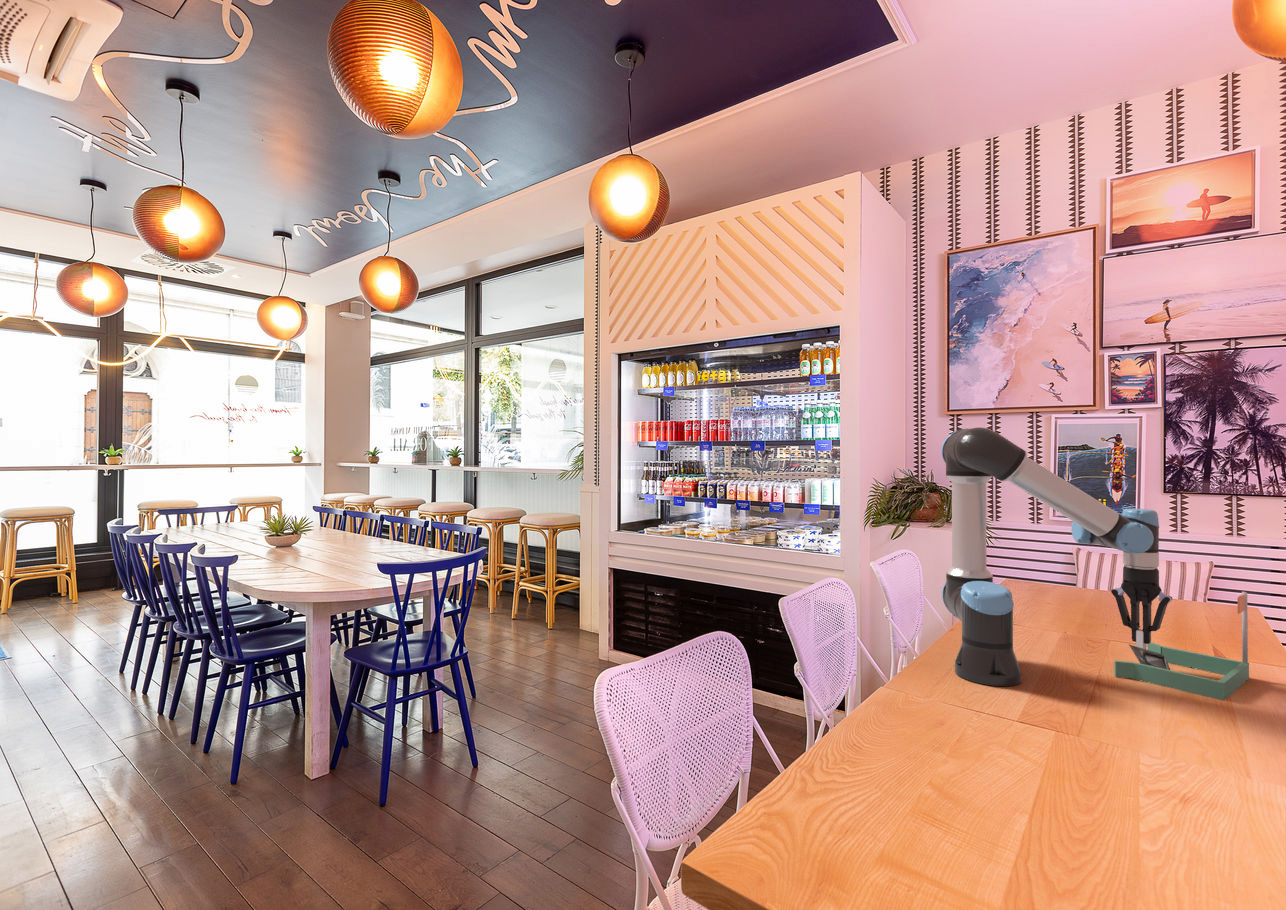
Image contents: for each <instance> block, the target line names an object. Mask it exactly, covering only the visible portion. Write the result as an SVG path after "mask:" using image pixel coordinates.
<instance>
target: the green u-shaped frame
mask: <svg viewBox="0 0 1286 910" xmlns="http://www.w3.org/2000/svg"><path fill="white" fill-rule="evenodd" d="M1237 614H1238V615H1239V614H1241V637H1242V638H1241V646H1242V647H1241V648H1242V649H1241V650H1242V651H1241V654H1242V655H1241V658H1242V660H1241V661H1239V660H1235V659H1229V658H1226V657H1225V658H1224V657H1221V656H1220V657H1219V656H1216V655H1215V656H1213V655H1209V654H1204V653H1199V652H1193V651H1189V650H1185V649H1179V648H1173V647H1168V646H1164V645H1161V644H1159V643H1154V642H1152V641H1151V642H1150V643H1149V644H1147V650H1149V651H1153V652H1156V653H1159V654H1163V655H1165V656H1166V659H1167V662H1168V664H1171V663H1173V664H1172V665H1175V664H1177V666H1180V665H1182V666H1181V667H1185V666H1187V667H1186V668H1190V667H1192V668H1191V669H1194V668H1197V669H1196V670H1199V669H1202V670H1201V671H1204V670H1206V671H1205V672H1208V671H1210V672H1209V673H1213V672H1215V674H1218V673H1220V674H1219V675H1223V674H1224V675H1223V677H1221V678H1220V679H1219V680H1218V679H1212V678H1208V677H1203V676H1198V675H1194V674H1189V673H1185V672H1180V671H1176V670H1171V669H1170V670H1167V669H1163V668H1158V667H1154V666H1149V665H1144V664H1140V662H1133V661H1125V660H1115V659H1114V660H1113V664H1114V665H1113V671H1114V672H1113V675H1114V677H1115V678H1119V677H1124V678H1123V679H1128V678H1132V679H1131V680H1135V679H1137V680H1136V681H1139V680H1142V681H1141V682H1144V681H1145V683H1148V682H1150V683H1149V684H1152V683H1154V684H1153V685H1156V684H1158V685H1157V686H1161V685H1162V686H1161V687H1165V686H1166V688H1169V687H1170V689H1173V688H1174V690H1177V689H1178V690H1179V691H1181V692H1186V691H1187V692H1186V693H1191V694H1194V693H1195V695H1199V696H1202V697H1207V698H1211V699H1216V700H1220V701H1226V699H1228V698H1229V697H1230V696H1231V695H1232V694H1234V692H1236V691H1237V690H1238V689H1239V688H1241V687H1242V686H1243V685H1244V684H1245V683H1246V682H1247V681H1248V680H1250V663H1249V655H1248V654H1249V652H1248V651H1249V648H1248V647H1249V646H1248V645H1249V643H1248V642H1249V641H1248V639H1249V638H1248V635H1249V633H1248V632H1249V631H1248V627H1249V626H1248V623H1249V622H1248V619H1249V618H1248V616H1249V615H1248V592H1247V591H1241V595H1239V596H1238V597H1237ZM1246 680H1247V681H1246ZM1245 681H1246V682H1245ZM1244 682H1245V683H1244ZM1243 683H1244V684H1243ZM1242 684H1243V685H1242ZM1235 690H1236V691H1235Z"/></svg>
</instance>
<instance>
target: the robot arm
mask: <svg viewBox="0 0 1286 910" xmlns="http://www.w3.org/2000/svg"><path fill="white" fill-rule="evenodd" d="M941 445H942V446H941V450H940V451H941V452H940V453H941V457H942V460H943V462H944V463H945V477H946V478H947V479H948V480H949V481H950V483H951V552H952V553H951V566H950V567H949V568H948V569H947V570H946V572H945V574H946V575H945V577H946V578H945V580H946V581H945V583H944V584H943V586H942V589H941V599H942V602H943V604H944V606H945V608H946V609H947V611H948V612H949V613H950V614H952V616H954V617H955V618H957V619H959V620H960V621H961V645H960V648H959V650H958V652H957V655H956V658H955V662H954V673H955V675H957V676H958V677H960V678H962V679H964V680H967V681H970V682H974V683H977V684H981V685H986V686H994V687H995V686H996V687H1011V686H1016V685H1019V684H1020V683H1022V670H1021V668H1020V664H1019V663H1018V659H1017V656H1016V654H1015V651H1014V606H1015V605H1014V600H1013V594H1012V592H1011V590H1010V589H1009V588H1007V586H1004V585H1002V584H998V583H995V582H994V577H993V574H992V572H991V571H989V570H988V569H987V483H988V481H990V480H991V479H992V478H995V479H996V480H999V482H1006V481H1007V482H1009V483H1010V484H1012V485H1014V486H1016V487H1017V488H1019V489H1021V490H1022V491H1024V492H1025V493H1027V494H1028V495H1030V496H1032V497H1033V498H1035V499H1036V500H1038V501H1040V502H1042V503H1043V504H1044V505H1047V507H1049V508H1051V509H1052V510H1055V512H1058V513H1059V514H1061V515H1062V516H1064V517H1066V518H1067V519H1069V520H1070V521H1072V523H1071V531H1070V532H1071V535H1072V538H1073V539H1074V541H1075V542H1076V543H1078V544H1082V545H1083V544H1085V545H1099V546H1104V547H1106V548H1111V549H1115V550H1118V551H1120V552H1121V551H1122V565H1124V566H1122V567H1123V568H1122V580H1123V581H1122V583H1121V585H1120V587H1117V588H1114V589H1113V588H1112V589H1111V590H1110V592H1111V594H1112V595H1113V597H1114V598H1115V601H1116V605H1117V608H1118V611H1119V615H1120V618H1121V622H1122V624H1123V626H1124V627H1128V628H1129V629H1130V630H1131V641H1132V642H1135V646H1136V647H1140V648H1143V649H1146V650H1147V645H1148V644H1149V643H1150V642H1152V632H1156V631H1158V630H1160V629H1161V626H1162V622H1163V619H1164V617H1165V613H1166V611H1167V608H1168V605H1169V604H1170V603H1171V602H1172V600H1173V597H1172V596H1171V595H1167V594H1165V593H1164V592H1163V591H1162V588H1161V587H1160V570H1159V568H1158V567H1159V566H1160V551H1159V547H1160V545H1159V542H1160V541H1159V540H1160V537H1159V536H1160V533H1159V529H1160V521H1159V514H1158V512H1157V511H1156V510H1153V509H1150V508H1149V509H1147V508H1125V509H1123V510H1122V514H1121V513H1119V512H1117V511H1115V510H1114V509H1112V508H1111V507H1109V506H1108V505H1106V504H1104V503H1103V502H1101V501H1099V500H1097V499H1096V498H1094V497H1093V496H1091V495H1090V494H1088V493H1086V492H1085V491H1083V490H1082V489H1080V488H1079V487H1077V486H1075V485H1073V484H1072V483H1070V482H1068V481H1067V480H1065V479H1063V477H1060V476H1058V475H1057V474H1055V473H1054V472H1053V471H1051V470H1049V469H1048V468H1047V467H1045V466H1043V465H1041V464H1039V463H1038V462H1036V461H1034V460H1033V459H1031V458H1030V457H1028V452H1027V451H1026V450H1024V449H1023V448H1021V447H1020V446H1018V445H1017V444H1015V443H1014V442H1012V441H1010V439H1008V438H1006V437H1004V436H1003V435H1001V434H999V432H996V431H994V430H992V429H990V428H987V427H973V428H961V429H959V430H956V431H954V432H951V433H950V434H949V435H948V436H947V437H946V438H945V439H944V441H943V442H942V444H941ZM1125 594H1126V596H1127V597H1128V599H1129V601H1130V602H1129V603H1130V613H1129V610H1128V605H1127V602H1126V600H1125V596H1124V595H1125ZM1157 597H1158V601H1159V603H1158V606H1157V609H1156V612H1155V615H1154V618H1153V620H1152V606H1153V601H1154V600H1155V599H1156V598H1157ZM1140 604H1141V606H1142V628H1141V625H1140V623H1141V621H1140V616H1141V615H1140ZM1152 621H1153V622H1152ZM1139 651H1140V652H1141V654H1142V656H1143V655H1144V652H1143V651H1141V650H1139Z"/></svg>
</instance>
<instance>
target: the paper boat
mask: <svg viewBox="0 0 1286 910" xmlns="http://www.w3.org/2000/svg"><path fill="white" fill-rule="evenodd" d="M1128 646H1129V647H1130V649H1131V651H1132V652H1133V654H1134V655H1135V657H1136V659H1137V660H1138V663H1140V664H1144V665H1149V666H1154V667H1158V668H1163V669H1167V670H1171V668H1170V664H1169V663H1168V662H1167V659H1166V656H1165V655H1163V654H1159V653H1156V652H1153V651H1149V650H1148V649H1147V648H1146V649H1143V648H1140V647H1136V645H1133V644H1128ZM1139 650H1141V651H1143V652H1144V655H1143V656H1142V654H1141V652H1140V651H1139Z"/></svg>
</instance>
